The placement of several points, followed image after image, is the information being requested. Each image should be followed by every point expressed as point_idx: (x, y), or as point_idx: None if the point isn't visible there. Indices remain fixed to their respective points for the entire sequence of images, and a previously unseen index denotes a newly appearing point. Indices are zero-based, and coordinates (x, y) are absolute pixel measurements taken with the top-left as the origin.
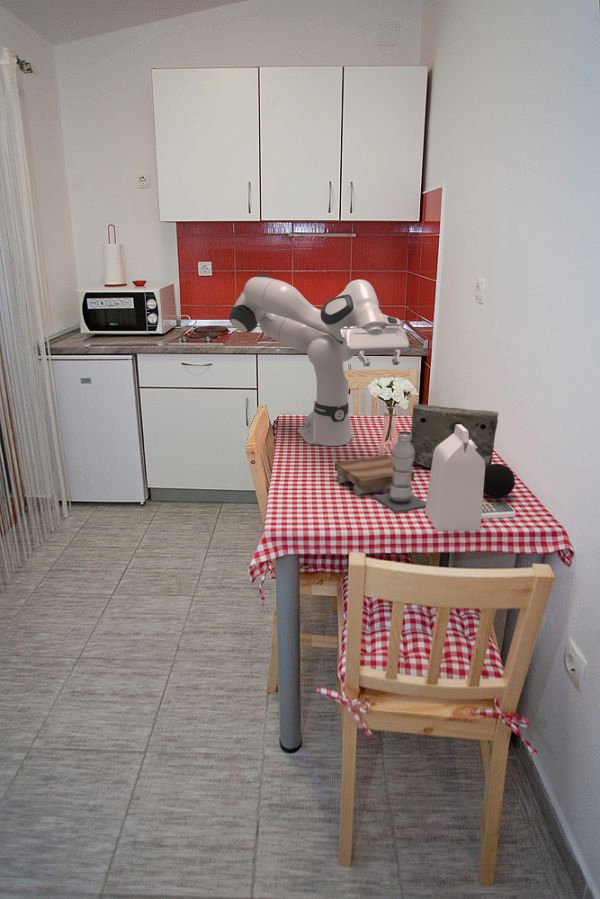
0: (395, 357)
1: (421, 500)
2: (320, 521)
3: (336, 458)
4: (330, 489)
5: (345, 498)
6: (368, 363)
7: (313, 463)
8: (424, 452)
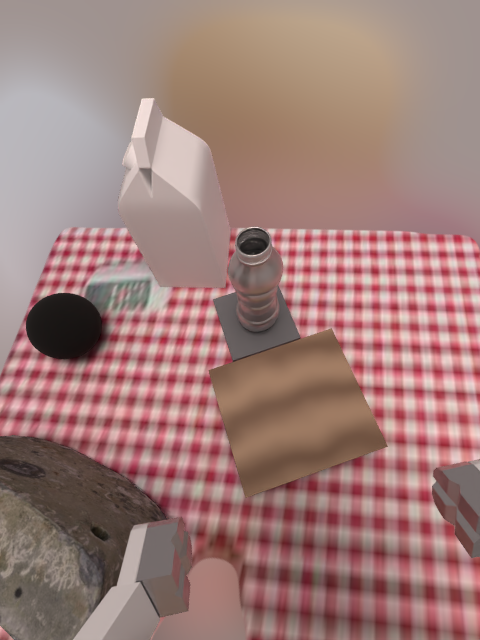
0: (153, 572)
1: (219, 315)
2: (401, 260)
3: (360, 620)
4: (382, 388)
5: (354, 343)
6: (453, 465)
7: (429, 577)
8: (135, 501)
